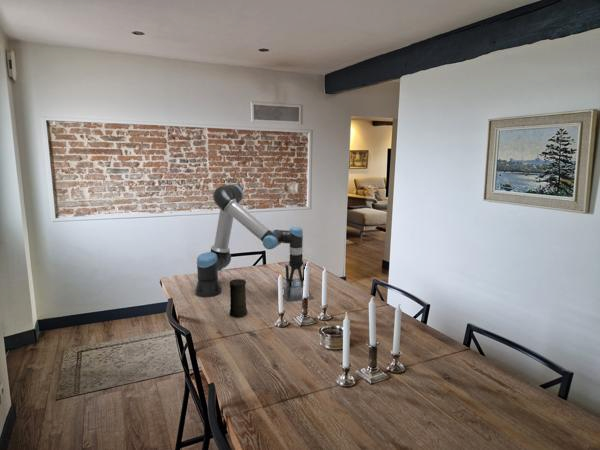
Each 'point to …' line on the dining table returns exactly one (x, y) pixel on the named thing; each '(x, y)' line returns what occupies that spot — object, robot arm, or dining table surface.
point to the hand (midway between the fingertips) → (295, 291)
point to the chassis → (294, 293)
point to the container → (238, 298)
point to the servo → (296, 283)
